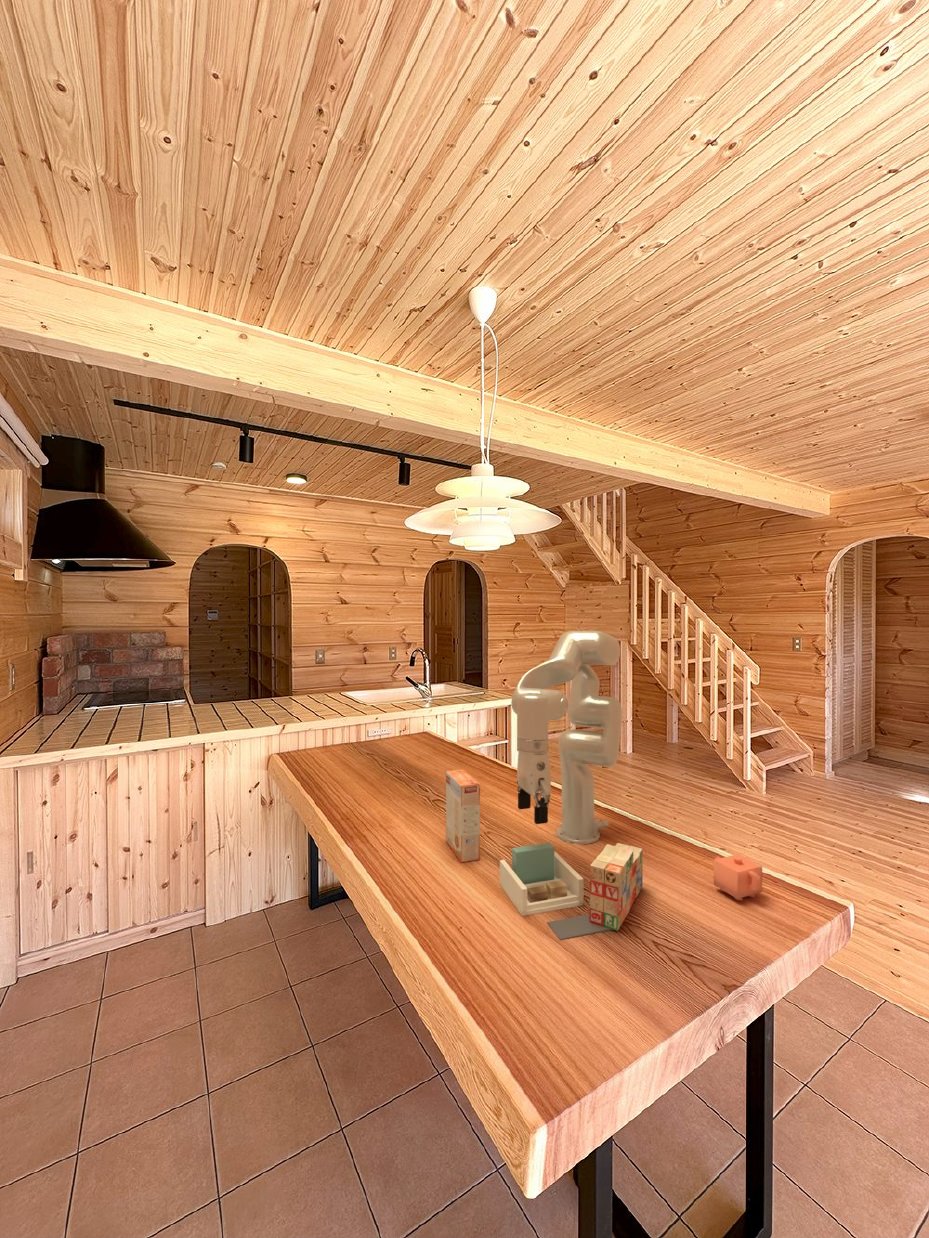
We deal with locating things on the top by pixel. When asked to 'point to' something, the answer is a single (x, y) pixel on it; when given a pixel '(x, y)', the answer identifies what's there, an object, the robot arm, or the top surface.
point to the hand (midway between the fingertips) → (532, 815)
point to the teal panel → (533, 863)
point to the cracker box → (463, 815)
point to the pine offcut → (556, 889)
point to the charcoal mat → (575, 927)
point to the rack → (561, 872)
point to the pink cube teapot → (737, 876)
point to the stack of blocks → (614, 884)
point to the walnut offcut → (537, 894)
